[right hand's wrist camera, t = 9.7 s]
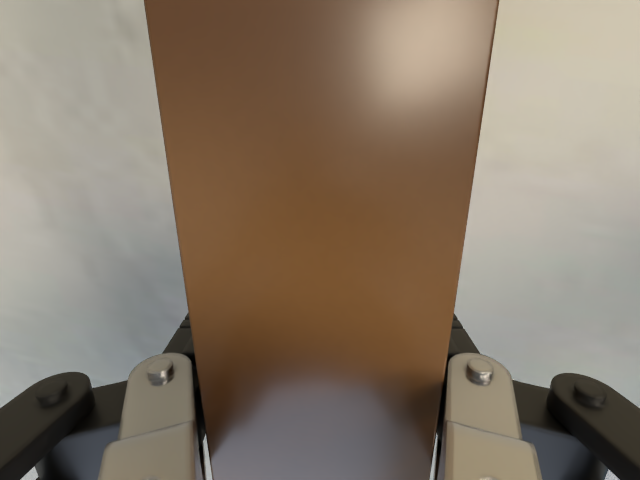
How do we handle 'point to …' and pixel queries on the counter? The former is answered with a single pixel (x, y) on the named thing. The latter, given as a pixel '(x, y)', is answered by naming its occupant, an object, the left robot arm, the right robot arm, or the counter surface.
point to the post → (321, 220)
